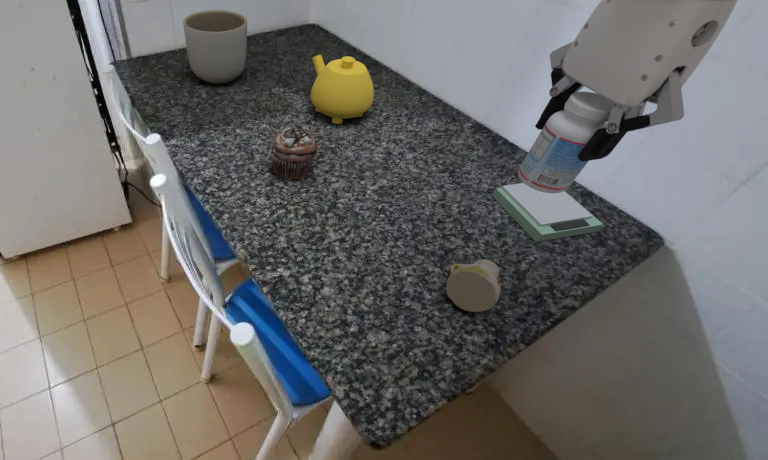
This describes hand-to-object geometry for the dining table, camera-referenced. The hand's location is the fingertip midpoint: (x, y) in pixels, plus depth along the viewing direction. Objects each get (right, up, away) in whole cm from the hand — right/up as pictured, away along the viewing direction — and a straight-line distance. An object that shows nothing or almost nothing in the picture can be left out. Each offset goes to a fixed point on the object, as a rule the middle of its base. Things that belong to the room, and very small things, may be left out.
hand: (567, 141), depth 47 cm
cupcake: (-30, +2, +37) cm, 48 cm away
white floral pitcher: (-3, -21, +16) cm, 26 cm away
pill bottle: (0, -4, +4) cm, 6 cm away
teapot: (-17, +21, +56) cm, 62 cm away
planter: (-49, +34, +68) cm, 90 cm away
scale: (+18, -7, +28) cm, 34 cm away
